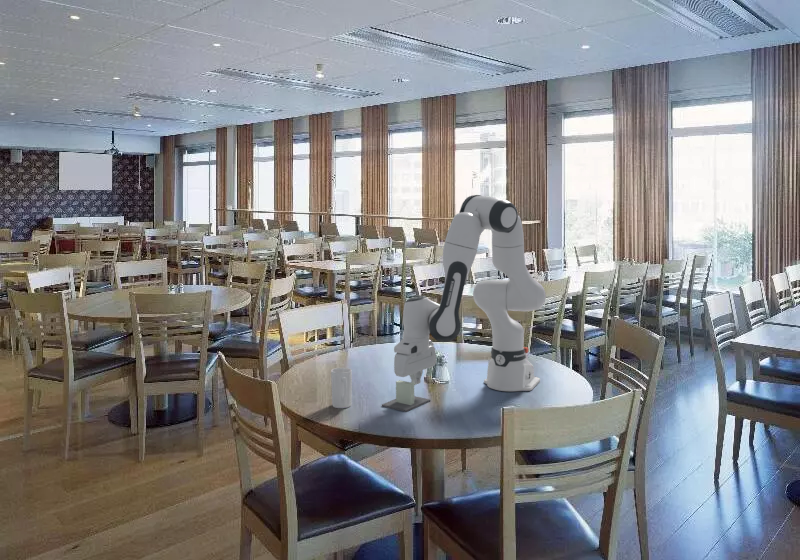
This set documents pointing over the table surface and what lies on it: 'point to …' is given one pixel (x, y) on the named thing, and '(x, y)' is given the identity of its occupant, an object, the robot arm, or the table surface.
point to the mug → (341, 387)
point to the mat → (405, 407)
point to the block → (405, 392)
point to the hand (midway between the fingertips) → (415, 384)
